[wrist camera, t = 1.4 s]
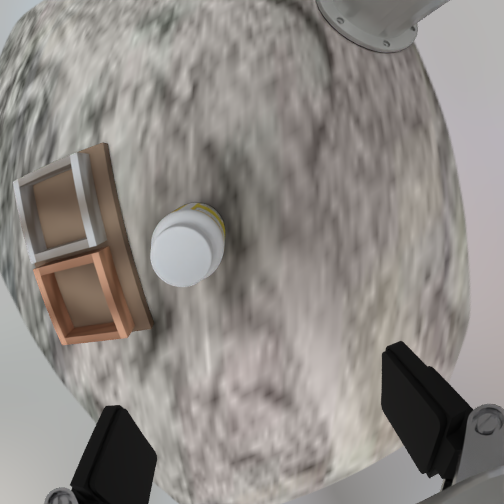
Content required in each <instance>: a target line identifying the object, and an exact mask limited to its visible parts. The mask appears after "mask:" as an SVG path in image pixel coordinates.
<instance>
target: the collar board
mask: <svg viewBox="0 0 504 504" xmlns="http://www.w3.org/2000/svg"><path fill="white" fill-rule="evenodd" d="M13 185H14V192H15V197H16V203H17V208H18V213H19V218H20V222H21V227H22V231H23V235H24V239H25V243H26V247H27V250H28V254H29V258H30V261H31V264H33V263H35V266H36V268H35V269H33V271H34V274H35V277H36V280H37V283H38V286H39V289H40V292H41V295H42V297H43V300H44V303H45V305H46V308H47V311H48V313H49V316H50V318H51V320H52V323H53V325H54V328H55V330H56V332H57V335H58V337H59V339H60V341H61V343H62V345H68V344H78V343H88V342H97V341H105V340H113V339H121V338H128V337H129V335H130V333H131V332H133V331H140V330H147V329H152V327H153V325H154V322H153V319H152V316H151V314H150V311H149V308H148V305H147V302H146V299H145V296H144V292H143V289H142V286H141V283H140V280H139V276H138V273H137V270H136V266H135V263H134V259H133V256H132V252H131V249H130V245H129V241H128V237H127V233H126V230H125V226H124V222H123V217H122V213H121V209H120V205H119V200H118V195H117V191H116V186H115V181H114V176H113V171H112V166H111V160H110V154H109V148H108V144H107V143H100V144H98V145H95V146H92V147H90V148H87V149H84V150H82V151H79V152H76V153H74V154H71V155H69V156H66V157H64V158H62V159H59V160H57V161H55V162H53V163H50V164H48V165H46V166H44V167H42V168H40V169H37V170H35V171H33V172H31V173H29V174H27V175H25V176H23V177H21V178H19V179H17V180H15V181H13Z"/></svg>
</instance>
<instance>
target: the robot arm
mask: <svg viewBox="0 0 504 504" xmlns="http://www.w3.org/2000/svg"><path fill="white" fill-rule="evenodd" d="M316 1H317V4H318V7H319V9H320V11H321V12H322V14H323V16H324V17H325V18H326V20H327V21H328V22H329V23H330V24H331V25H332V26H333V27H334V28H335V29H336V30H337V31H338V32H339V33H341V34H342V35H343V36H345V37H346V38H348V39H349V40H351V41H353V42H354V43H356V44H358V45H360V46H363V47H365V48H367V49H370V50H374V51H378V52H385V53H390V52H397V51H401V50H403V49H405V48H406V47H408V46H409V45H410V44H412V43H413V41H414V40H415V38H416V36H417V31H418V28H417V23H418V22H419V21H420V20H422V19H423V18H425V17H426V16H427V15H429V14H430V13H432V12H433V11H435V10H436V9H438V8H439V7H441V6H442V5H444V4H445V3H446V2H448V1H450V0H316ZM381 406H382V410H383V412H384V414H385V415H386V417H387V418H388V420H389V422H390V423H391V425H392V427H393V428H394V430H395V431H396V433H397V435H398V436H399V438H400V440H401V441H402V443H403V445H404V446H405V448H406V449H407V451H408V453H409V454H410V456H411V458H412V459H413V461H414V463H415V464H416V466H417V468H418V469H419V471H420V472H421V473H422V474H424V473H426V474H427V476H428V477H429V478H431V477H433V476H434V475H436V474H438V473H439V475H440V476H441V478H442V479H443V483H442V486H441V490H440V492H439V493H437V494H435V495H433V496H431V497H429V498H427V499H425V500H423V501H421V502H419V503H417V504H504V409H502V408H501V407H500V406H497V405H495V404H485V405H481V406H479V407H477V408H476V409H474V410H473V409H472V408H471V407H470V406H469V404H468V403H467V402H466V401H465V400H464V399H463V398H462V397H461V396H460V395H459V394H458V393H457V392H456V391H455V390H454V389H453V388H452V387H451V386H450V385H449V383H448V382H447V381H446V380H445V379H444V378H443V377H442V376H441V375H440V374H439V373H438V372H437V371H436V370H435V369H434V368H432V367H430V366H428V367H427V366H426V365H425V364H424V363H423V362H422V361H421V360H420V359H419V358H418V357H417V356H416V355H415V354H414V352H413V351H412V350H411V349H410V348H409V347H408V346H407V345H406V344H405V343H404V342H402V341H399V342H397V343H394V344H392V345H389V346H387V347H386V351H385V352H383V353H382V394H381ZM156 462H157V455H156V452H155V451H154V449H153V448H152V447H151V445H150V444H149V442H148V441H147V440H146V438H145V437H144V435H143V434H142V432H141V431H140V429H139V428H138V426H137V425H136V423H135V422H134V420H133V419H132V417H131V416H130V414H129V413H128V411H127V410H126V409H123V407H122V406H120V405H114V406H106V407H105V408H104V410H103V412H102V414H101V416H100V418H99V420H98V422H97V424H96V427H95V429H94V431H93V433H92V435H91V438H90V440H89V442H88V444H87V446H86V449H85V451H84V453H83V455H82V458H81V460H80V462H79V465H78V467H77V469H76V472H75V474H74V477H73V479H72V481H71V484H70V485H71V486H72V490H69V489H67V488H56V489H54V490H52V491H51V492H50V493H49V494H48V495H47V497H46V499H45V503H44V504H148V503H149V497H150V492H151V487H152V482H153V477H154V472H155V467H156Z"/></svg>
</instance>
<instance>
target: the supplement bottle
mask: <svg viewBox="0 0 504 504" xmlns="http://www.w3.org/2000/svg"><path fill="white" fill-rule="evenodd" d="M224 244H225V226H224V222H223V219H222V217H221V216H220V214H219V213H218V212H217V211H216V210H215V209H214V208H212V207H211V206H209V205H207V204H203V203H189V204H186V205H184V206H182V207H180V208H178V209H177V210H175V211H173V212H172V213H170V214H168V215H167V216H165V217H164V218H163V219H162V220H161V221H160V222H159V223H158V225H157V226H156V228H155V230H154V232H153V235H152V240H151V253H150V258H151V264H152V267H153V269H154V271H155V273H156V274H157V275H158V277H160V278H161V279H162V280H163V281H164V282H166V283H168V284H170V285H172V286H176V287H189V286H192V285H195V284H197V283H198V282H200V281H201V280H203V279H205V278H207V277H208V276H210V275H211V274H212V273H213V272H214V271H215V270H216V269H217V267H218V266H219V264H220V262H221V260H222V257H223V253H224Z"/></svg>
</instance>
